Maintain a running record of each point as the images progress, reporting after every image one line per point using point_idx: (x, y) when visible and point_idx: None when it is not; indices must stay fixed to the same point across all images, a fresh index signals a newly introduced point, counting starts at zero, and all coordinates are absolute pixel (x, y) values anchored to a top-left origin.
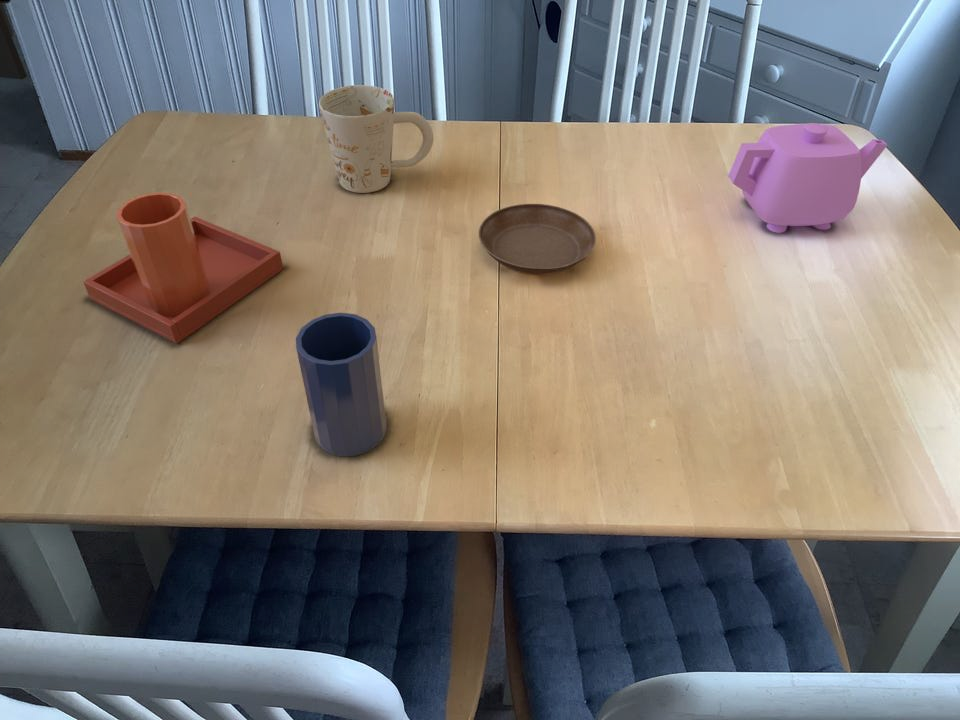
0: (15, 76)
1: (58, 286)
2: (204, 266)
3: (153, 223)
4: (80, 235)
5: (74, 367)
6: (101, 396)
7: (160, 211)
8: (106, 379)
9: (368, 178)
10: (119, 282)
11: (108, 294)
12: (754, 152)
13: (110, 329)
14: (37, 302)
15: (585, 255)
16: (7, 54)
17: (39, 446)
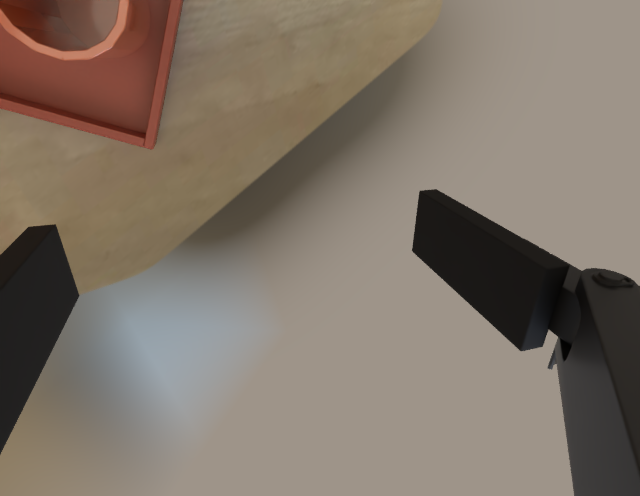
0: (59, 244)
1: (150, 197)
2: None
3: (42, 33)
4: None
5: (267, 82)
6: (300, 18)
7: (17, 13)
8: (274, 29)
9: None
10: (113, 122)
11: (162, 97)
12: None
13: (196, 80)
14: (185, 199)
15: None
16: (33, 274)
17: (374, 43)
